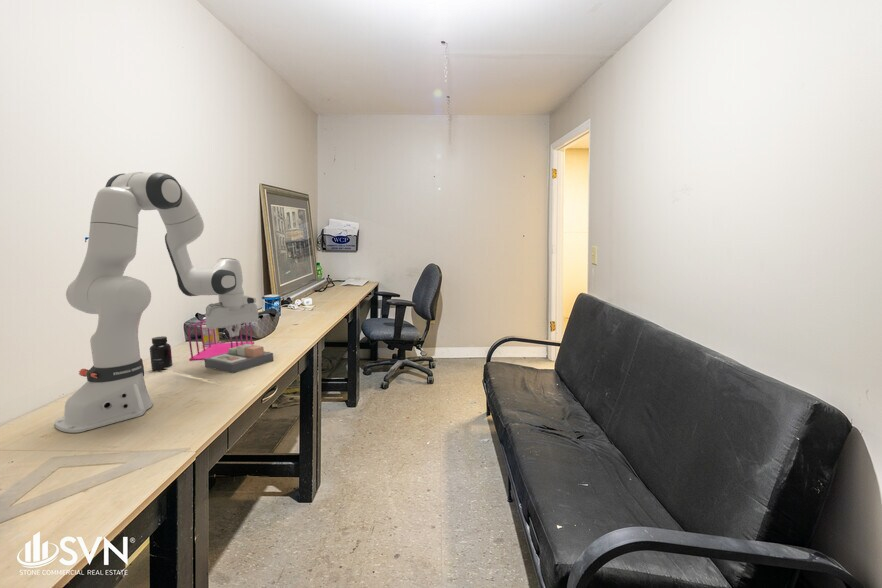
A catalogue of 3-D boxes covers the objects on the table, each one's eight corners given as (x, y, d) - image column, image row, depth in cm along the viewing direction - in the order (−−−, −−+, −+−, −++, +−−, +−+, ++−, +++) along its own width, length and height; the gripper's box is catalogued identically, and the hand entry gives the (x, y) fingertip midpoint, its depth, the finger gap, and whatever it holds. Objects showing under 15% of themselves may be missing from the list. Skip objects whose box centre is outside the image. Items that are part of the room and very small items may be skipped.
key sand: (244, 358, 175) (243, 347, 174) (237, 356, 177) (236, 346, 176) (254, 355, 178) (254, 344, 178) (247, 353, 181) (246, 343, 180)
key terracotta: (254, 359, 172) (253, 349, 171) (246, 358, 174) (245, 347, 173) (264, 356, 175) (263, 346, 175) (256, 355, 178) (255, 345, 177)
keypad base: (233, 375, 164) (232, 363, 163) (205, 369, 173) (204, 357, 172) (273, 363, 178) (272, 351, 178) (245, 357, 187) (244, 346, 186)
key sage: (236, 360, 178) (235, 350, 177) (229, 359, 180) (228, 348, 179) (246, 357, 181) (245, 347, 181) (239, 356, 184) (238, 346, 183)
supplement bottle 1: (153, 372, 170) (150, 340, 169) (150, 369, 176) (146, 337, 174) (175, 368, 175) (171, 337, 173) (170, 365, 180) (167, 334, 178)
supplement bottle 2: (214, 342, 214) (212, 315, 212) (222, 344, 210) (219, 316, 209) (200, 346, 209) (197, 318, 207) (208, 348, 205) (205, 319, 203)
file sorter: (189, 363, 182) (184, 324, 180) (214, 347, 207) (210, 312, 204) (235, 361, 183) (231, 322, 181) (254, 345, 208) (251, 310, 206)
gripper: (210, 304, 167) (213, 342, 169) (259, 298, 184) (261, 332, 186) (200, 303, 170) (203, 341, 172) (249, 297, 187) (251, 331, 189)
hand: (234, 336), depth 179 cm, fingers closed
